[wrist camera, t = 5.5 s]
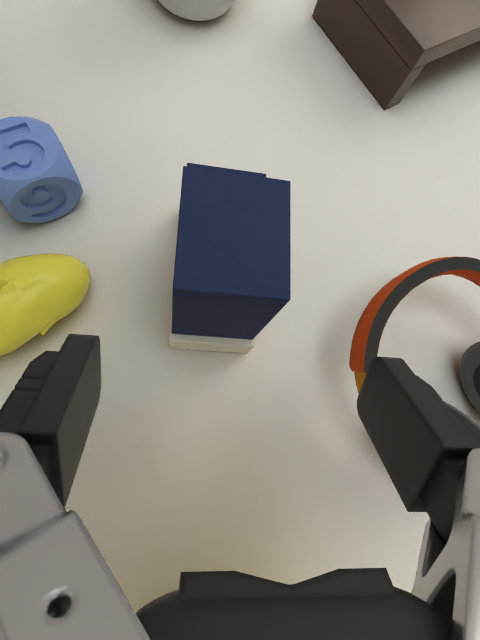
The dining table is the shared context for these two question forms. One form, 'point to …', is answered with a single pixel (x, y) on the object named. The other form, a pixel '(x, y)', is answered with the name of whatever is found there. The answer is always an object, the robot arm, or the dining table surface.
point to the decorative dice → (35, 172)
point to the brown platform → (397, 37)
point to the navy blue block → (229, 258)
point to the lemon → (38, 295)
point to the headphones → (476, 362)
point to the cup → (197, 8)
